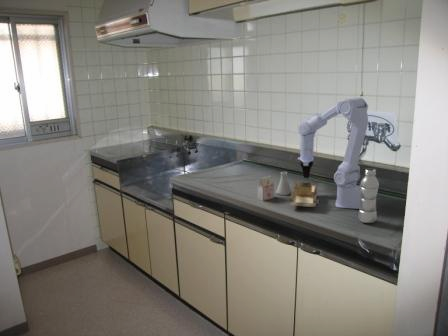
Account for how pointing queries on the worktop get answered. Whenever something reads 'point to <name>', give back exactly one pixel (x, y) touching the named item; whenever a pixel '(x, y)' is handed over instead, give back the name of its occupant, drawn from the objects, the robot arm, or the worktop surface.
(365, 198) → the plastic bottle
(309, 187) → the bronze weight
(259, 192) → the pink and white carton
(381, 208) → the worktop surface
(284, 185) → the flask
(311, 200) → the small cardboard box
